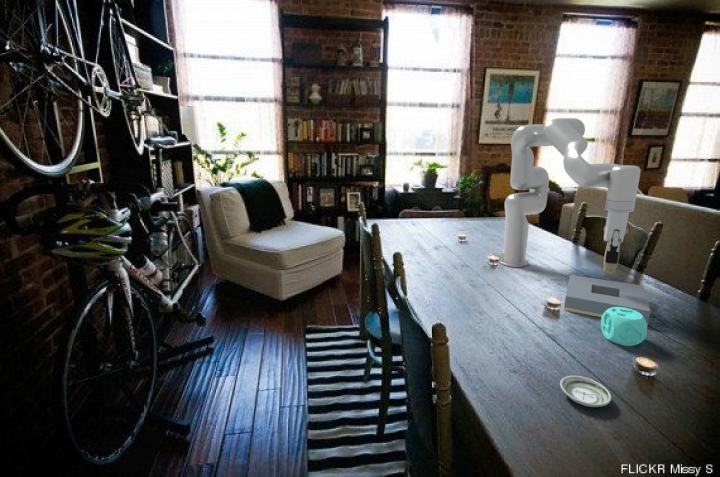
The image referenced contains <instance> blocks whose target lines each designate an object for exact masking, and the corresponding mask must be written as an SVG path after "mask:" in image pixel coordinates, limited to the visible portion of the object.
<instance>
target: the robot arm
mask: <svg viewBox="0 0 720 477" xmlns="http://www.w3.org/2000/svg"><path fill="white" fill-rule="evenodd" d="M585 132H586V128H585V124H584V122H583V121H582V120H580V119H579V118H576V117H575V118H574V117H567V118H566V117H559V118H552V119H551V120H549V121H548V122H546V124H545V123H544V124H541V123H540V124H537V123H535V124H526V125H522V126H520V127H518V128H517V129H516V130H515V131H514V132H513V134H512V135H511V136H512V137H511V140H510V146H511V147H510V148H511V165H510V166H511V167H510V187H511V188H512V189H514V190H517V191H525V190H529V191H527V192H518V193H517V192H516V193H512V194H510V195H508V196H506V198H505V200H504V212H505V213H504V214H505V222H504V223H505V224H504V236H503V248H502V249H503V250H502V251H496V250H493V252H492V256H494V257H496V258H499V259H498V263H499V262H500V265H503V266H506V267H511V268H524V267H525V268H526V267H527V266H529V264H530V263H529V260H528V259H526V256H527V246H528V237H529V236H528V235H529V225H530V224H529V221H528V219H527V217H526V216H528V215H535V214H540V213H542V212H543V211H544V210H545V208H546V206H547V201H548V194H549V192H548V191H549V184H550V177H549V173H548V170H546V169H545V167H543V166H534V164H535V163H534V162H535V156H534V153H533V150H532V149H531V147H550V146H553V147H554V148H555V150H557V151H558V152H559V153H560V155H562V157H563V160H562V161H563V168H564V171H565V173H566V174H567V175H568V176H569V178H570V179H571V180H572V181H573V182H574V183H576V185H578V186H579V187H583V188H587V189H588V188H589V189H590V188H591V189H592V188H599V187H600V188H605V187H607V194H606V200H605V206H604V207H605V208H604V210H606V211H608V212H607V216H606V221H605V226H604V227H605V228H606V229H605V232H604V233H603V241H604V242H605V243H606V242H608V241H609V246H608V250H607V253H606V259H605V262H606V263H612V264H617V261H618V255H619V256H620V253H619V252H618V251H619V244H620V245H621V244H622V243H623V242H624V240H625V239H624V238H625V235H626V234H625V231H626V228H627V225H628V218H629V213H633V212H634V210H635V206H636V200H637V194H638V188H639V185H640V184H639V182H640V177H641V168H640V166H637V165H622V164H621V165H620V164H617V163H611V162H609V163H606V162H605V163H589V162H588V161H587V160H586V159H584V158H583V157H582V155H583V153H585V151H586V150H587V148H588V144H589V142H588V139H586V138H585V137H584V135H585ZM613 234H614V235H613ZM611 240H613V242H612V241H611ZM610 247H611V248H610ZM618 262H619V261H618Z"/></svg>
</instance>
